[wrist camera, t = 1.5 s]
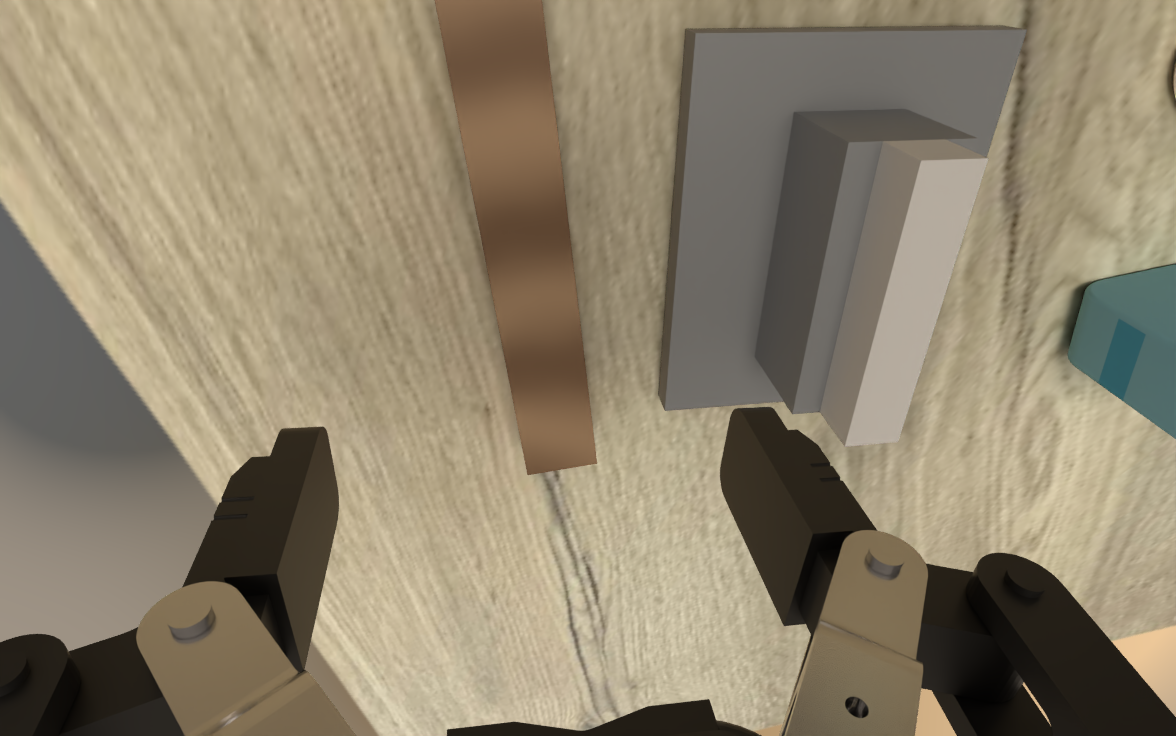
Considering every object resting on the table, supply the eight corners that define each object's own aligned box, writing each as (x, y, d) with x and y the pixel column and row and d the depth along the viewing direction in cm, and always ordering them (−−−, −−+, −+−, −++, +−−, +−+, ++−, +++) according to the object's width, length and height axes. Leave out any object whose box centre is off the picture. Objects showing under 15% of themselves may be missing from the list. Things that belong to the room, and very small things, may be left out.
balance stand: (1003, 25, 29) (1186, 57, 22) (898, 376, 39) (999, 482, 31) (685, 29, 27) (764, 64, 20) (658, 394, 37) (704, 511, 30)
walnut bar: (411, -155, 23) (401, -168, 20) (514, -166, 24) (520, -180, 21) (523, 432, 38) (527, 475, 35) (587, 421, 38) (596, 463, 35)
